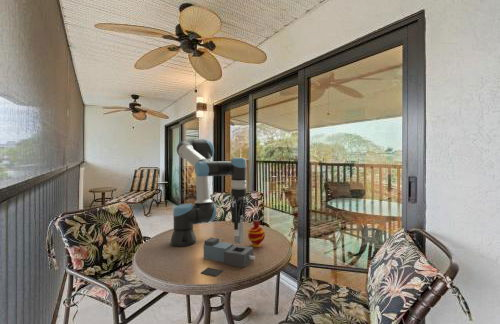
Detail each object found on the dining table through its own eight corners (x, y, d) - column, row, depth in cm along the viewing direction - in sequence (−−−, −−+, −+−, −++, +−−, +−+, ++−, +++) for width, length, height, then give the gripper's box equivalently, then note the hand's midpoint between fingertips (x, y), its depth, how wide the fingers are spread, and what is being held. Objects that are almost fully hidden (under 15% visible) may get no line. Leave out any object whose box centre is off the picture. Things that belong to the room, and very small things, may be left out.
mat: (200, 273, 115) (200, 272, 115) (207, 268, 121) (207, 267, 121) (215, 276, 112) (215, 275, 112) (222, 271, 118) (222, 270, 118)
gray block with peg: (242, 244, 126) (242, 216, 126) (231, 242, 129) (232, 215, 128) (245, 242, 129) (245, 214, 129) (234, 240, 132) (234, 213, 131)
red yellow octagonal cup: (263, 249, 146) (263, 223, 146) (246, 247, 148) (246, 222, 148) (266, 243, 156) (266, 218, 156) (249, 242, 158) (249, 218, 158)
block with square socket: (201, 259, 131) (201, 242, 131) (213, 252, 141) (213, 236, 141) (250, 268, 120) (249, 249, 120) (258, 260, 130) (258, 242, 130)
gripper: (238, 190, 119) (238, 240, 120) (251, 186, 134) (251, 231, 135) (224, 189, 122) (224, 238, 123) (239, 186, 137) (238, 229, 138)
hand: (238, 234), depth 129 cm, fingers closed on gray block with peg, 3 cm apart
